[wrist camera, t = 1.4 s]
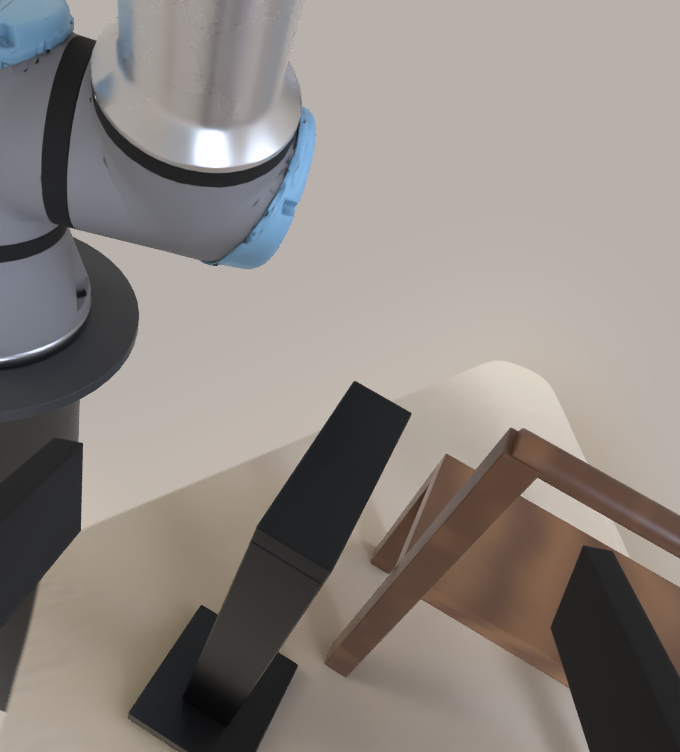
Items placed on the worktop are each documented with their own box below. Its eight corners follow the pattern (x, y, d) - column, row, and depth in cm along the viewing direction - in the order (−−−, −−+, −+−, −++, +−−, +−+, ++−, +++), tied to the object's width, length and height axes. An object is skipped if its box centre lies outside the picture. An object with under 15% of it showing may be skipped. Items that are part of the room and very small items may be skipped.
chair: (323, 664, 38) (512, 441, 22) (377, 546, 46) (549, 313, 30) (603, 837, 37) (1025, 731, 21) (613, 686, 44) (932, 520, 28)
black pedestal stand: (235, 789, 32) (361, 656, 19) (126, 718, 33) (172, 540, 20) (321, 615, 41) (451, 435, 27) (232, 561, 41) (316, 358, 28)
